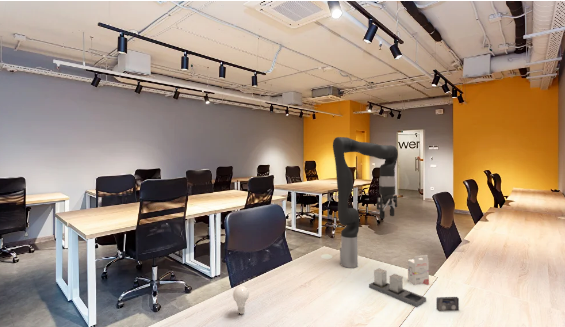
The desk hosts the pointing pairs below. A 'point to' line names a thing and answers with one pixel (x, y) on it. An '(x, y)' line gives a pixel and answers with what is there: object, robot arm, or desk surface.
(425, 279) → the ink cartridge box
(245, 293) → the lightbulb
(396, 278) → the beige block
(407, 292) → the rail
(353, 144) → the robot arm
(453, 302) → the mini dv tape
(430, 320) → the desk surface
